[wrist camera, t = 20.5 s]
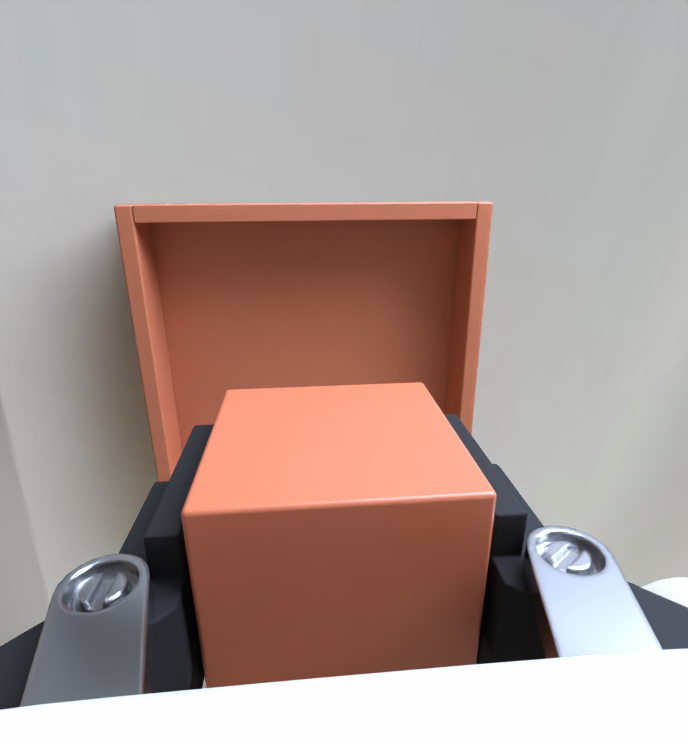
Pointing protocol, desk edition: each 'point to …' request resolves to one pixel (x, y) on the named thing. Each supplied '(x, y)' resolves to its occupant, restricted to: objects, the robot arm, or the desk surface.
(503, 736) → the robot arm
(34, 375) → the desk surface
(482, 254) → the terracotta tray
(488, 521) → the terracotta block
